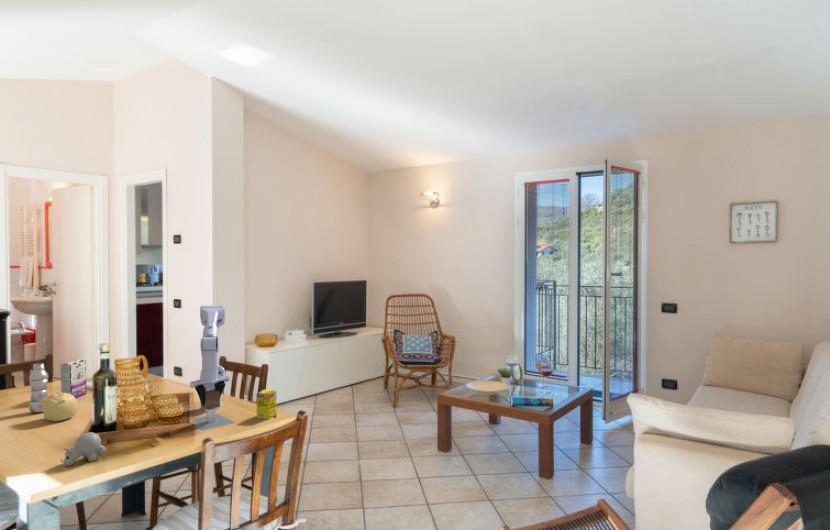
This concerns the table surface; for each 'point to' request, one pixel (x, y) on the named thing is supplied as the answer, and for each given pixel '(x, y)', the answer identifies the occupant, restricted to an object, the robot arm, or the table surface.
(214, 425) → the slate board
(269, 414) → the supplement box
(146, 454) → the table surface
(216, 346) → the robot arm
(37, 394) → the plastic bottle
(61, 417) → the pale yellow round lump
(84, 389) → the candy bar box
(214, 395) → the walnut cap
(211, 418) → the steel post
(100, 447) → the chubby cartoon animal
